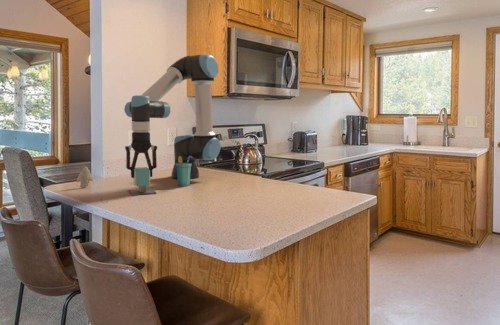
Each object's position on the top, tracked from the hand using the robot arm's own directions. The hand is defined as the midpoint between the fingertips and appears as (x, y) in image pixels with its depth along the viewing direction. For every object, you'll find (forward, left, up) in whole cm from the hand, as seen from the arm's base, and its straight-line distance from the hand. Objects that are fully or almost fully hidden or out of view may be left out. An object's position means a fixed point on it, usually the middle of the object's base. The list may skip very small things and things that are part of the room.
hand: (142, 184), depth 172 cm
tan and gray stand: (0, 0, -4) cm, 4 cm away
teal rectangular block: (0, 0, 0) cm, 0 cm away
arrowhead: (+22, -22, -4) cm, 31 cm away
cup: (-22, -9, -4) cm, 24 cm away
